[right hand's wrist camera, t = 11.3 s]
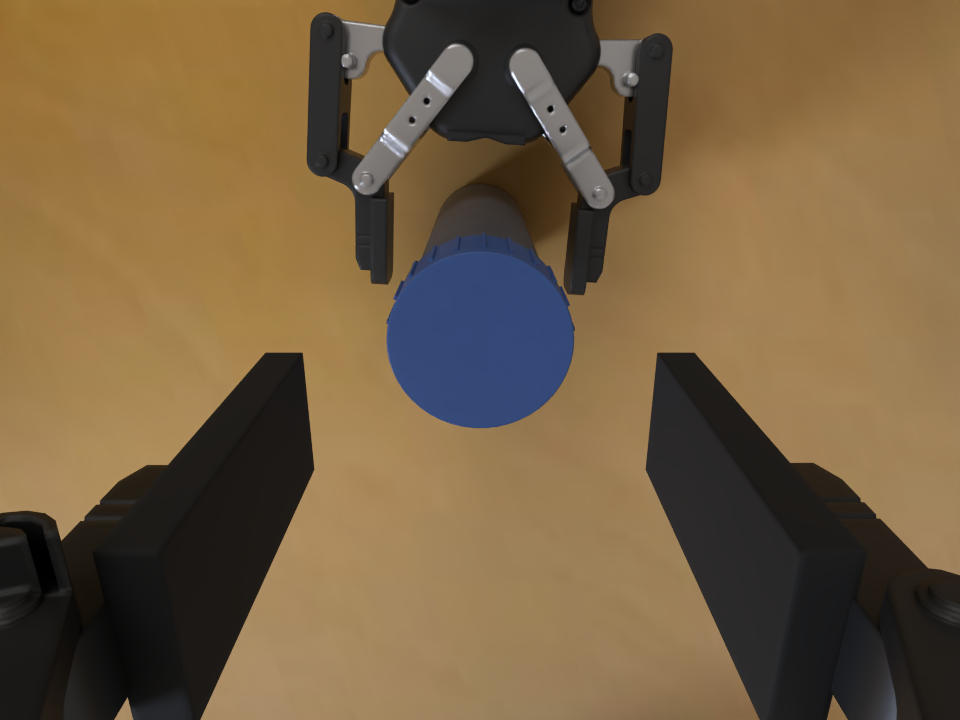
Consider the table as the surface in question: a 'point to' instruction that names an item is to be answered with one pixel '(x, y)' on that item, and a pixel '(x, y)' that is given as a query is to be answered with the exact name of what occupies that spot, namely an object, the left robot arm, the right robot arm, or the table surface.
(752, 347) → the table surface
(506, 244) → the lid
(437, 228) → the dark gray cylinder
